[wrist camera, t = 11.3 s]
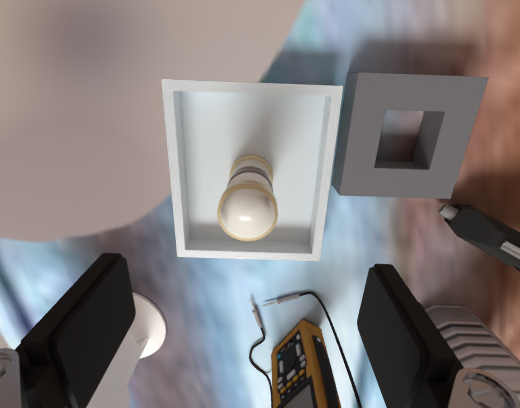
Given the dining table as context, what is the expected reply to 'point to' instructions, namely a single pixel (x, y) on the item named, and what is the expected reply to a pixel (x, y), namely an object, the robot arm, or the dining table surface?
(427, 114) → the grey flat square block
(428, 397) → the robot arm
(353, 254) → the dining table surface
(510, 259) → the gun
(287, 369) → the multimeter
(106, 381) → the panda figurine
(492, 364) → the can
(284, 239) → the parts tray
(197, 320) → the dining table surface
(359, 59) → the dining table surface
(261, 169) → the cylinder
